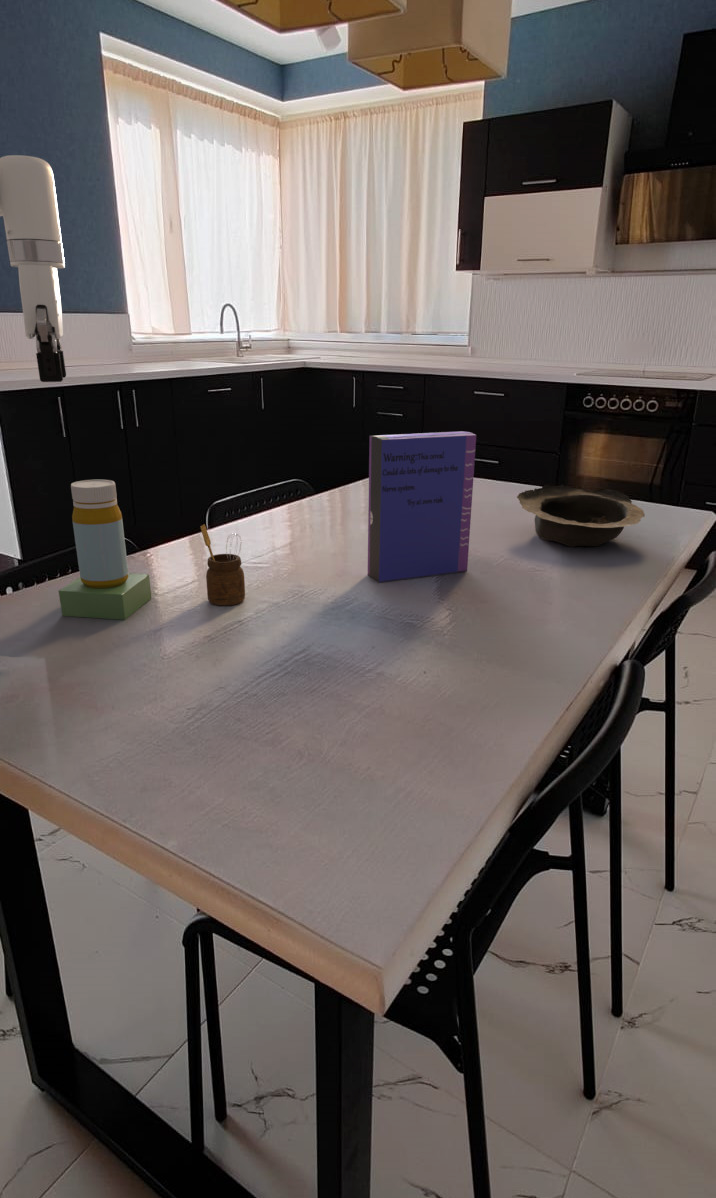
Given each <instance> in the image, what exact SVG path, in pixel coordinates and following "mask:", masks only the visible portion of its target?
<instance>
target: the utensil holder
mask: <svg viewBox="0 0 716 1198" xmlns="http://www.w3.org/2000/svg"><path fill="white" fill-rule="evenodd" d="M199 528H200V531H201V533H202V534H201V535H202V538H203V542H204V545H205V546H206V547H207V548H208V552H209V555H210V556H209V557H208V558H207V562H206V563H207V564H206V565H207V567H208V568H207V570H206V575H205V578H206V579H205V582H206V594H207V599H208V602H209V603H210V604H212V605H214V606H221V607H227V606H235V605H239V604H241V603H243V602H244V600H245V598H246V584H245V582H246V581H245V573H244V569H243V568H242V559H241V556H240V554H241V549H242V543H240V545H239V550H238V549H237V547H234V548H235V552H234V553H232V550H229V553H228V551H227V550H228V549H227V548H228V542H230V544H229V545H230V546H232V544H233V542H232V541H233V540H234V537H235V536H236V537H238V536H239V534H238V533H234V532H233V533H230V534H229V535H228V537H227V540H226V545H225V551H226V553H217V554H213V550H212V547H211V544H212V542H211V539H210V535H209V533H208V530H207V527H206V524H202V525H200V527H199ZM229 538H230V539H231V541H229ZM239 539H240V540H242V539H241V536H239ZM238 542H239V540H238V538H236V542H235V543H236V545H238V544H239V543H238ZM237 551H238V553H237ZM236 553H237V554H236Z"/></svg>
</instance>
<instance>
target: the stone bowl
mask: <svg viewBox="0 0 716 1198" xmlns="http://www.w3.org/2000/svg"><path fill="white" fill-rule="evenodd" d="M516 498H517V500H518V501H519V504H520V505H521V509H523V510H525V511H526V512H527V513H530V514H533V515H535V516H534V528H535V534H536V535H537V537H539V538H541V539H543V540H544V541H549V542H550V541H551V542H552V541H555V542H557V543H560V544H563V545H565V546H568V547H571V548H575V547H579V546H580V547H599V546H602V545H603V544H604V543H608V542H610V541H612V540H615V539H617V538H618V537H619V536H620V535H621V533H622V532H623V531H624V528H625V527H628V526H632V525H637V524H639V523H640V522H641V519H642V518H645V517H646V515H645V511H644V510H643V509H642V508H641V507H639V506H638V505H636V504H634V503H632V502H633V501H632V499H630V497H629V495H627V494H624V493H622V492H621V491H619V490H617V489H609V488H604V489H599V490H590V491H588V490H585V489H579V488H576V487H572V486H569V485H565V486H564V484H563V483H562V484H560V485H550V484H544V485H543V486H542V487H539V488H534V489H528V490H524V491H521V492H519V494H517V496H516Z"/></svg>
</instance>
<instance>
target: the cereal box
mask: <svg viewBox="0 0 716 1198" xmlns="http://www.w3.org/2000/svg"><path fill="white" fill-rule="evenodd" d="M368 444H369V449H368V451H369V453H368V454H369V455H368V513H367V515H368V517H367V520H368V521H367V532H368V533H367V576H368V577H369V578H371V579H373V580H374V581H376V582H377V583H378V584H380V583H387V582H395V581H404V580H412V579H419V578H428V577H435V576H444V575H450V574H459V573H466V572H468V563H469V549H470V535H471V521H472V519H471V518H472V508H473V507H472V505H473V491H474V490H473V489H474V478H475V477H474V475H475V462H476V448H477V447H476V446H477V434H475V433H473V432H470V431H462V430H461V431H441V432H440V431H439V432H422V433H421V432H420V433H419V432H418V433H401V434H400V433H399V434H379V435H369V443H368Z"/></svg>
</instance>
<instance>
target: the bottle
mask: <svg viewBox="0 0 716 1198" xmlns="http://www.w3.org/2000/svg"><path fill="white" fill-rule="evenodd" d="M70 490H71V499H72V503H73V510H72V514H71V518H72V519H71V520H72V528H73V534H74V542H75V543H74V544H75V549H76V556H77V564H78V570H79V578H80V577H81V581H82V582H83V583H84V584H85V585H86V586H88V587H92V588H109V587H115V586H119V585H121V584H123V583H125V582H126V580H127V579H128V577H129V576H128V573H129V565H128V558H127V548H126V547H127V546H126V541H125V540H126V539H125V531H124V522H123V514H122V511H121V510H120V507H119V505H118V499H117V495H118V494H117V487H116V482H115V481H114V480H111V479H84V480H79V481H78V480H77V481H74V482H72V483H71V484H70Z"/></svg>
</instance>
